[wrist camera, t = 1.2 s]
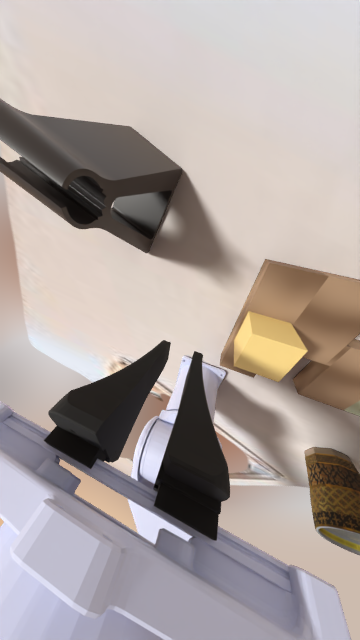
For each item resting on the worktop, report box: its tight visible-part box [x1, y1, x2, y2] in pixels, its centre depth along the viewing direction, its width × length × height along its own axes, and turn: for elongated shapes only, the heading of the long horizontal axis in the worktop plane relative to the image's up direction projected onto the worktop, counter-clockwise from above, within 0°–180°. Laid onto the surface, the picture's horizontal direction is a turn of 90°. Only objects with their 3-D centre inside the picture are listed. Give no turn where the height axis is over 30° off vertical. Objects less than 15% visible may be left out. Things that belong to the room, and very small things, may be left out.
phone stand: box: [0, 99, 182, 253], centre depth 12 cm, size 9×6×12 cm, turn 147°
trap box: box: [220, 259, 360, 416], centre depth 16 cm, size 15×20×4 cm
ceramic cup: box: [305, 447, 360, 555], centre depth 23 cm, size 13×10×10 cm
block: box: [234, 311, 308, 382], centre depth 16 cm, size 4×4×4 cm
